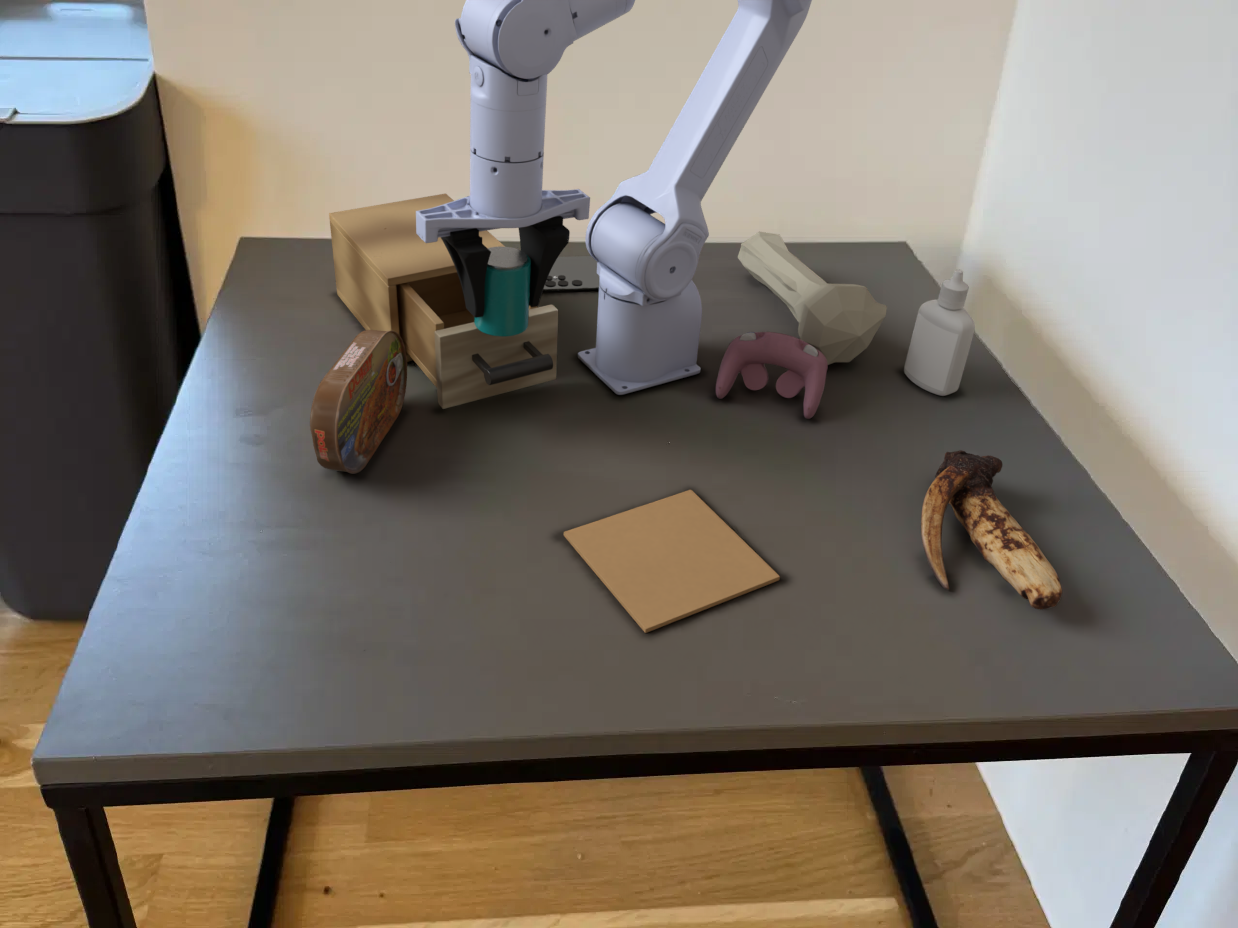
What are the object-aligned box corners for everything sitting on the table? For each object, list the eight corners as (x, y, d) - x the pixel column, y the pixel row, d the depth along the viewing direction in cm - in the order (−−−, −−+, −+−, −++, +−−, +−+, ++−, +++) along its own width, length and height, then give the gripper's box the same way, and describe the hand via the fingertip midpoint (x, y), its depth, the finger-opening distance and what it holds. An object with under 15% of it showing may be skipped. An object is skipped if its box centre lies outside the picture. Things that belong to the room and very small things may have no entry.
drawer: (578, 401, 100) (581, 331, 95) (462, 433, 95) (460, 360, 90) (488, 311, 112) (487, 245, 108) (381, 334, 107) (376, 266, 103)
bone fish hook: (873, 487, 94) (964, 633, 80) (882, 441, 91) (977, 584, 77) (975, 477, 96) (1082, 619, 81) (987, 432, 93) (1100, 570, 79)
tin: (347, 494, 89) (337, 406, 84) (310, 487, 89) (298, 400, 84) (412, 396, 101) (407, 314, 96) (380, 391, 101) (373, 309, 96)
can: (513, 307, 97) (516, 241, 94) (537, 331, 94) (540, 264, 90) (465, 316, 95) (466, 249, 92) (488, 341, 92) (489, 272, 88)
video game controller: (819, 417, 104) (836, 344, 103) (814, 421, 100) (832, 345, 99) (718, 394, 107) (734, 322, 105) (709, 397, 102) (725, 322, 101)
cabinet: (513, 337, 110) (513, 253, 105) (393, 365, 105) (387, 278, 99) (448, 272, 121) (445, 193, 115) (337, 294, 115) (328, 213, 110)
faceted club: (801, 377, 105) (705, 271, 125) (874, 388, 109) (769, 284, 129) (838, 293, 101) (732, 198, 121) (911, 308, 105) (797, 213, 124)
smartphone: (686, 284, 121) (541, 287, 118) (686, 289, 121) (540, 291, 118) (671, 253, 127) (532, 255, 124) (670, 258, 127) (532, 259, 124)
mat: (690, 492, 91) (691, 489, 91) (779, 580, 83) (780, 576, 83) (563, 535, 86) (563, 531, 86) (645, 633, 78) (645, 629, 78)
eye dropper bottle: (917, 398, 105) (946, 285, 98) (899, 367, 110) (926, 257, 103) (961, 398, 106) (993, 285, 99) (941, 367, 110) (971, 257, 103)
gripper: (565, 125, 92) (556, 274, 100) (399, 142, 85) (404, 300, 93) (607, 154, 87) (594, 308, 95) (435, 174, 80) (436, 338, 88)
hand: (502, 306), depth 94 cm, fingers closed on can, 4 cm apart
